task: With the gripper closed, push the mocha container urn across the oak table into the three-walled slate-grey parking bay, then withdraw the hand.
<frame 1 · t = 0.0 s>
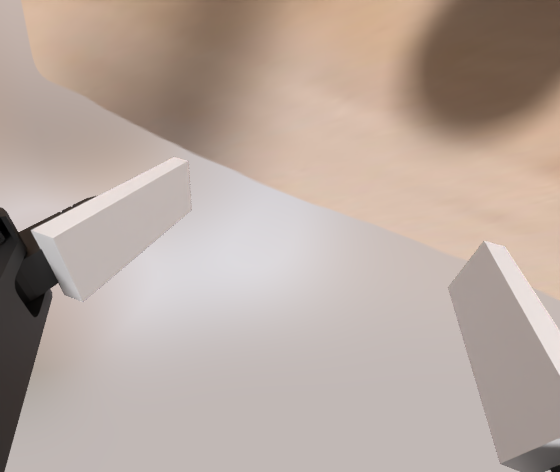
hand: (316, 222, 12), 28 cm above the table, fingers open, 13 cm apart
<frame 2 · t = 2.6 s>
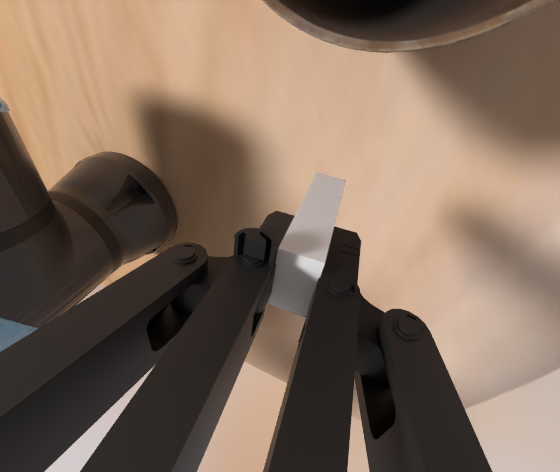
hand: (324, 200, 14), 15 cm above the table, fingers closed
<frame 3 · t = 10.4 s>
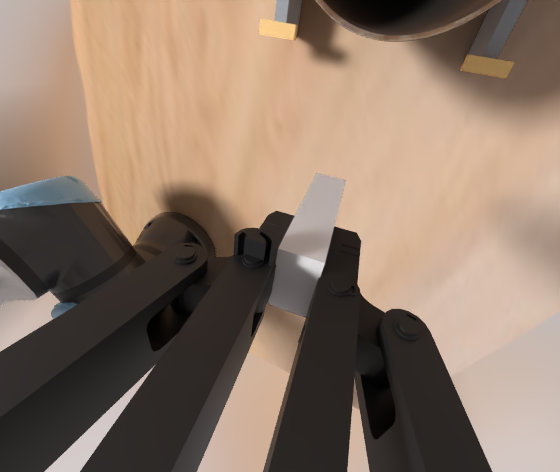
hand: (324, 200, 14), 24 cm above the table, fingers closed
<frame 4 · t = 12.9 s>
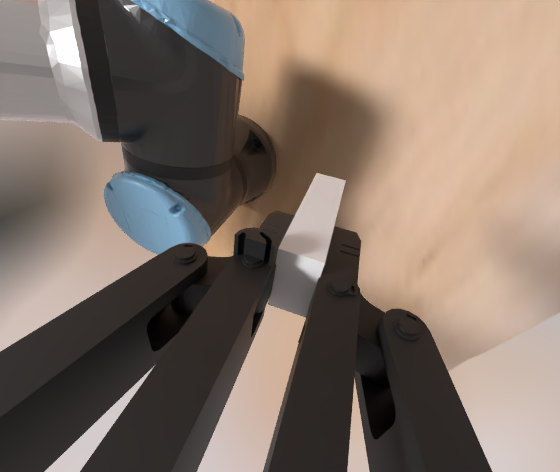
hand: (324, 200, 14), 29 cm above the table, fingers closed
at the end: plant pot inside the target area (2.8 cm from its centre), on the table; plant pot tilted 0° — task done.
